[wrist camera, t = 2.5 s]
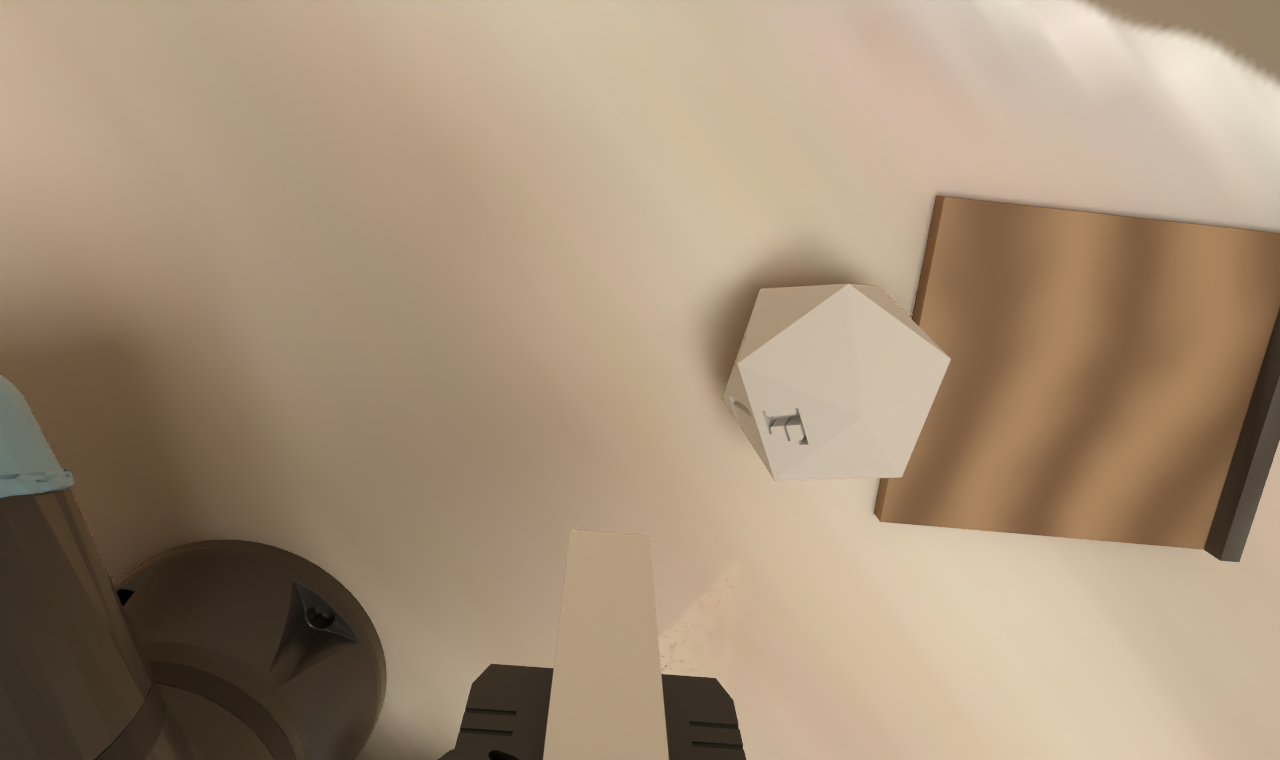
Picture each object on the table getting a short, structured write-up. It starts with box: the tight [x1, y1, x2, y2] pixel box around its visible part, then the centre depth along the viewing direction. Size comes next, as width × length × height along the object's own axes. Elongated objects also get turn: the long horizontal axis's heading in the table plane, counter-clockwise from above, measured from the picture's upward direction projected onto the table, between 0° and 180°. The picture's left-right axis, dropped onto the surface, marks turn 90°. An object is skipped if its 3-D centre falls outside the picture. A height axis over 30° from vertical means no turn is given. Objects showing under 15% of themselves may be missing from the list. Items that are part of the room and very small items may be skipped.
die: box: [722, 284, 951, 481], centre depth 35 cm, size 8×9×10 cm
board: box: [874, 196, 1280, 562], centre depth 39 cm, size 18×16×2 cm
